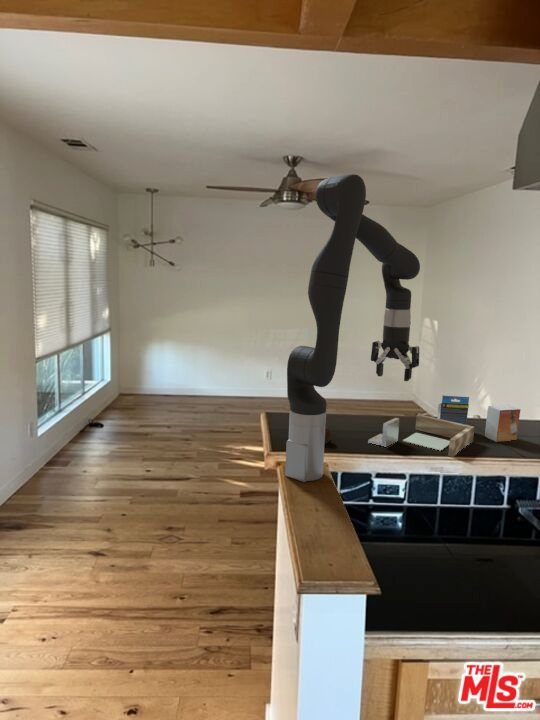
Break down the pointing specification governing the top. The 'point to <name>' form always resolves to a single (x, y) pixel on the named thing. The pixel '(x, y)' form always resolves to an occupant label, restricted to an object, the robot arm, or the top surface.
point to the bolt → (327, 435)
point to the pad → (427, 441)
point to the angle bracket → (387, 434)
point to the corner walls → (447, 432)
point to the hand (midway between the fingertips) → (393, 378)
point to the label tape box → (453, 409)
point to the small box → (502, 423)
